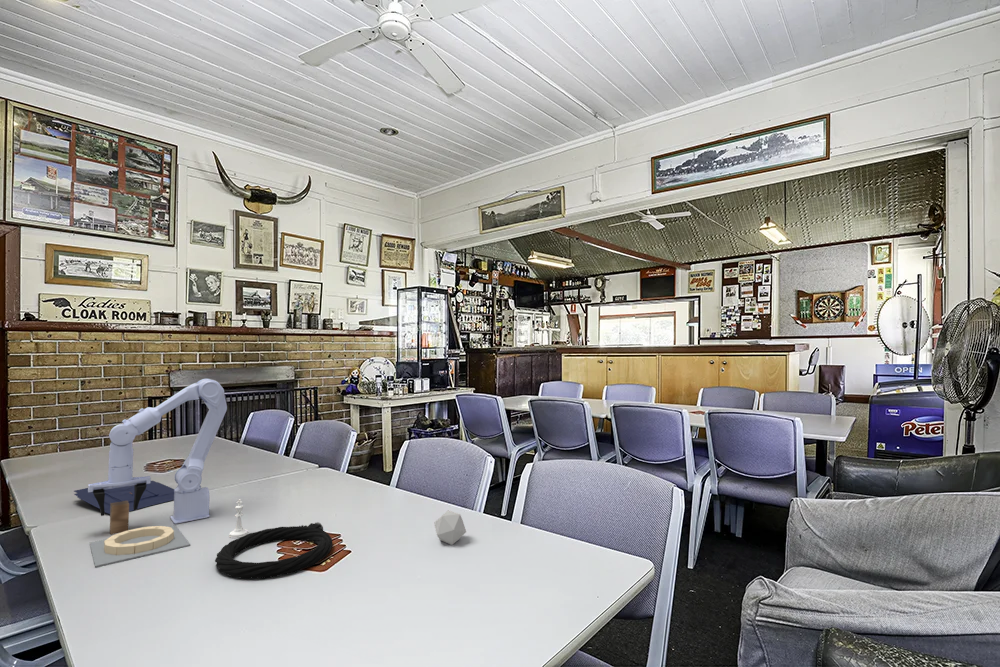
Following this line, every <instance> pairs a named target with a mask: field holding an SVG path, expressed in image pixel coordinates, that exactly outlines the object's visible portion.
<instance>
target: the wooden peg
mask: <svg viewBox="0 0 1000 667" xmlns="http://www.w3.org/2000/svg"><path fill="white" fill-rule="evenodd" d="M129 518H130V511H129V502H128V501H122V502H115V503H111V504H110V514H109V533H110V535H115V534H118V533H121V532H124V531H128V530H129V521H130V520H129Z"/></svg>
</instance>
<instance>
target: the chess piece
mask: <svg viewBox="0 0 1000 667" xmlns="http://www.w3.org/2000/svg"><path fill="white" fill-rule="evenodd" d="M236 504H237V505H236V506H235V508H234V509H235V511H236V514H234V516H235V517H236V523H235V528H234V529H233V530H232V531H230V532H229V534H228V537H229V538H232V539H238V538H240V537H243V536H245V535H247V534H249V530H248V529H246V528H244V527H243V524H242V517H243V516H244V513H242V511H243V508H244V505H243V501H242V500H241V499H240V498H239V499H238V500H237V501H236Z"/></svg>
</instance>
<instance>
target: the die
mask: <svg viewBox="0 0 1000 667" xmlns="http://www.w3.org/2000/svg"><path fill="white" fill-rule="evenodd" d="M434 528H435V533H436V536H437V538H438V540H439V541H441V542H443V543H446V544H447V545H451V546H453V545H454V544H455V543H457V541H458V540H460V539H461V537H463V536H464V535H465V534H466V533H467V530H466V526H465V522H464V521H463V518H462V515H461V514H460V513H458V512H455V511H451V510H447V511H445V512H444V513H443V514H442V515H441V516H440V517H439V518H438V519H436V521H434Z"/></svg>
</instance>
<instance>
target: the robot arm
mask: <svg viewBox="0 0 1000 667" xmlns="http://www.w3.org/2000/svg"><path fill="white" fill-rule="evenodd" d="M200 399H201V400H203V401H204V404H205V405H206V407H207V409H208V411H207V413H206V415H205V418H204V419H203V422H202V425H201V427H200V430H199V431H198V434H197V436H196V438H195V440H194V442H193V445H192V447H191V449H190V452H189V454H188V457H186V459H185V460H184V462H183V464H182V465H181V467H180V468H179V469H177V471H176V472H175V473H174V481H175V483H176V484H177V485H176V487H175V488H174V489H175V490H174V500H173V515H170V516H169V518H170V520H171V521H172V523H173V524H174V525H176V524H177V525H178V524H181V523H187V522H190V521H191V522H192V521H196V520H203V519H206V518H210V489H209V487H207V486H204V487H202V486H201V484H202V473H203V471H204V466H205V461H206V459H207V457H208V454H209V452H210V450H211V447H212V445H213V443H214V440H215V438H216V436H217V433H218V431H219V429H220V426H221V424H222V421H223V419H224V417H225V414H226V412H227V411H228V405H227V401H226V396H225V389H224V388H223V386H222V385H221V384H220V382H219V381H217V380H215V379H211V378H202V379H200V380H198V381H197V382H194V383H191V384H190V385H187V386H186V387H184V388H183V389H181V390H180V391H177V393H175V394H174V395H172V396H170V397H169V398H167V399H166V400H165V401H163V402H161V403H160V404H158V405H157V406H155V407H150V406H148V407H146V408H143V407H141V408H140V409H138V412H137V413H136V414H134V415H133V416H130V418H127V419H126V418H124V419H123V420H122V421H121V423H119V424H117V425H115V426H113V427H112V428H111V430H110V432H109V434H108V437H109V440H110V441H111V442H110V444H109V451H108V473H107V476H108V477H107V480H105V481H100V482H94V483H90V484H89V483H88V485H87V488H88V492H93V494H94V496H95V498H96V500H97V502H98V504H99V507H100V509H99V510H100V516H101V517H104V516H105V513H106V512H104V498H105V493H104V490H105V489H112V488H118V487H125V486H132V485H134V506H133V508H134V510H133V511H137V510H138V509H137V508H138V504H139V501H140V499H141V496H142V494H143V493H144V491H145V489H146V487H147V485H146V484H150V483H151V481H152V480H151V475H147V476H136V477H135V476H134V477H133V474H134V471H133V470H134V467H133V466H134V448H133V441H134V440H135V439H136V436H140V435H142V434H143V433H145V432H147V431H148V430H151V428H152V427H154V426H156V425H157V424H159V423H161V420H162V417H163V416H164V415H166V414H168V413H169V412H171V411H172V410H174V409H176V408H177V407H179V406H181V405H183V404H185V403H186V402H188V401H194V400H195V401H197V400H200Z"/></svg>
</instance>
